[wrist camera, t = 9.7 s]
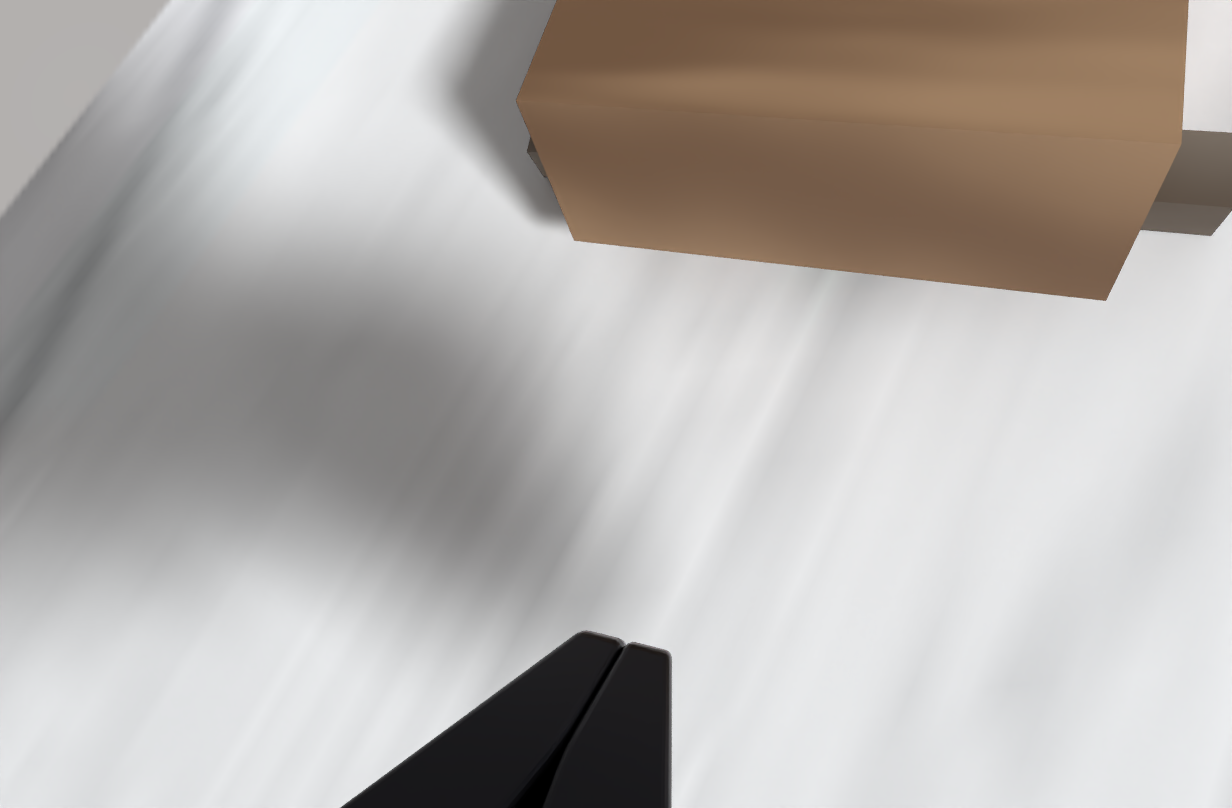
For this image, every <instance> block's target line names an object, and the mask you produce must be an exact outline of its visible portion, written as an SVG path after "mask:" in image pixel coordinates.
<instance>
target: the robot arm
mask: <svg viewBox="0 0 1232 808" xmlns="http://www.w3.org/2000/svg"><path fill="white" fill-rule="evenodd" d="M671 789H672V657H671V654H670V653H669V652H668V651H667V650H664V649H660V648H656V647H652V646H648V645H644V644H640V643H636V642H631V643H628V644H627V645H626V644H625V642H624V641H623V640H621V639H619V638H616V637H612V636H608V635H604V634H600V633H596V632H592V631H582V632H579V633H577V634H575V635H574V636H572V637H571V638H570V639H568V640H567V641H566V642H564V643H563V644H562V645H560V646H559V647H558V648H556V649H555V650H553V651H552V652H551V653H549V654H548V655H547V656H545V657H544V658H543V659H541V660H540V661H539V662H537V663H536V664H535V665H533V666H532V667H530V668H529V669H528V670H526V671H525V672H524V673H522V674H521V675H520V676H518V677H517V678H516V679H514V680H513V681H511V682H510V683H509V684H507V685H506V686H505V687H503V688H502V689H501V690H499V691H498V692H497V693H495V694H494V695H492V696H491V697H490V698H488V699H487V700H486V701H484V702H483V703H482V704H480V705H479V706H478V707H476V708H475V709H473V710H472V711H471V712H469V713H468V714H467V715H465V716H464V717H463V718H461V719H460V720H459V721H457V722H456V723H455V724H453V725H452V726H450V727H449V728H448V729H446V730H445V731H444V732H442V733H441V734H440V735H438V736H437V737H436V738H434V739H433V740H431V741H430V742H429V743H427V744H426V745H425V746H423V747H422V748H421V749H419V750H418V751H417V752H415V753H414V754H412V755H411V756H410V757H408V758H407V759H406V760H404V761H403V762H402V763H400V764H399V765H398V766H396V767H395V768H394V769H392V770H391V771H389V772H388V773H387V774H385V775H384V776H383V777H381V778H380V779H379V780H377V781H376V782H375V783H373V784H372V785H370V786H369V787H368V788H366V789H365V790H364V791H362V792H361V793H360V794H358V795H357V796H356V797H354V798H353V799H351V800H350V801H349V802H347V803H346V804H345V805H343V806H342V807H341V808H671Z"/></svg>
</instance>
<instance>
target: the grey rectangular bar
mask: <svg viewBox="0 0 1232 808" xmlns="http://www.w3.org/2000/svg"><path fill="white" fill-rule="evenodd" d="M527 153H528V154H529V155H530V157H531V158H532V160H533V161H534V163H535V164H536V166H537V167H538V169H539V170H540V172H541V173H542V175H543V176H544V177H548V176H547V174H546V172H545V169H544V167H543V164H542V162H541V160H540V157H539V155H538V152H537V150H536V148H535V145H534V143H533V140H532V138H530V141H529V145H528V149H527ZM1231 211H1232V133H1227V132H1210V131H1193V130H1182V143H1181V146H1180V148H1179V150H1178V152H1177V154H1176V156H1175V159H1174V161H1173V163H1172V165H1171V167H1170V169H1169V171H1168V173H1167V175H1166V177H1165V179H1164V181H1163V183H1162V185H1161V188H1160V190H1159V192H1158V194H1157V196H1156V198H1155V200H1154V202H1153V204H1152V206H1151V208H1150V210H1149V212H1148V215H1147V217H1146V219H1145V221H1144V223H1143V225H1142V227H1141V229H1140V230H1150V231H1161V232H1173V233H1184V234H1195V235H1207V236H1211V235H1212V234H1213V233H1214V232H1215V230H1216V229H1217V228H1218V227H1219V226H1220V224H1221V223H1222V222H1223V221H1224V219H1225V218H1226V217H1227V216H1228V215H1229V213H1230V212H1231Z"/></svg>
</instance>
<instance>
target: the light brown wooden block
mask: <svg viewBox="0 0 1232 808" xmlns="http://www.w3.org/2000/svg"><path fill="white" fill-rule="evenodd" d="M1188 2H1189V0H557V1H556V4H555V6H554V8H553V11H552V13H551V16H550V18H549V21H548V23H547V26H546V28H545V30H544V33H543V35H542V38H541V40H540V43H539V45H538V48H537V50H536V53H535V55H534V57H533V60H532V62H531V65H530V67H529V70H528V72H527V75H526V77H525V79H524V82H523V84H522V87H521V89H520V92H519V94H518V97H517V99H516V102H517V104H518V107H519V109H520V112H521V114H522V116H523V119H524V121H525V124H526V126H527V128H528V131H529V133H530V136H531V138H532V140H533V143H534V145H535V148H536V150H537V152H538V155H539V157H540V160H541V162H542V164H543V167H544V169H545V172H546V174H547V176H548V179H549V181H550V184H551V186H552V188H553V191H554V193H555V196H556V198H557V200H558V203H559V205H560V208H561V210H562V212H563V215H564V217H565V220H566V222H567V224H568V227H569V229H570V232H571V234H572V236H573V239H574V241H582V242H591V243H600V244H609V245H618V246H627V247H635V248H644V249H653V250H662V251H671V252H680V253H688V254H697V255H706V256H715V257H724V258H733V259H741V260H750V261H759V262H768V263H777V264H786V265H794V266H803V267H812V268H821V269H830V270H838V271H847V272H856V273H865V274H874V275H883V276H891V277H900V278H909V279H918V280H927V281H936V282H944V283H953V284H962V285H971V286H980V287H989V288H997V289H1006V290H1015V291H1024V292H1033V293H1042V294H1050V295H1059V296H1068V297H1077V298H1086V299H1095V300H1103V301H1106V300H1107V297H1108V295H1109V293H1110V291H1111V289H1112V287H1113V285H1114V283H1115V281H1116V279H1117V277H1118V275H1119V273H1120V271H1121V268H1122V266H1123V264H1124V262H1125V260H1126V258H1127V256H1128V254H1129V252H1130V250H1131V248H1132V246H1133V244H1134V241H1135V239H1136V237H1137V235H1138V233H1139V231H1140V229H1141V227H1142V225H1143V223H1144V221H1145V219H1146V217H1147V215H1148V212H1149V210H1150V208H1151V206H1152V204H1153V202H1154V200H1155V198H1156V196H1157V194H1158V192H1159V190H1160V188H1161V185H1162V183H1163V181H1164V179H1165V177H1166V175H1167V173H1168V171H1169V169H1170V167H1171V165H1172V163H1173V161H1174V159H1175V156H1176V154H1177V152H1178V150H1179V148H1180V146H1181V143H1182V122H1183V102H1184V82H1185V62H1186V42H1187V22H1188Z"/></svg>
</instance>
